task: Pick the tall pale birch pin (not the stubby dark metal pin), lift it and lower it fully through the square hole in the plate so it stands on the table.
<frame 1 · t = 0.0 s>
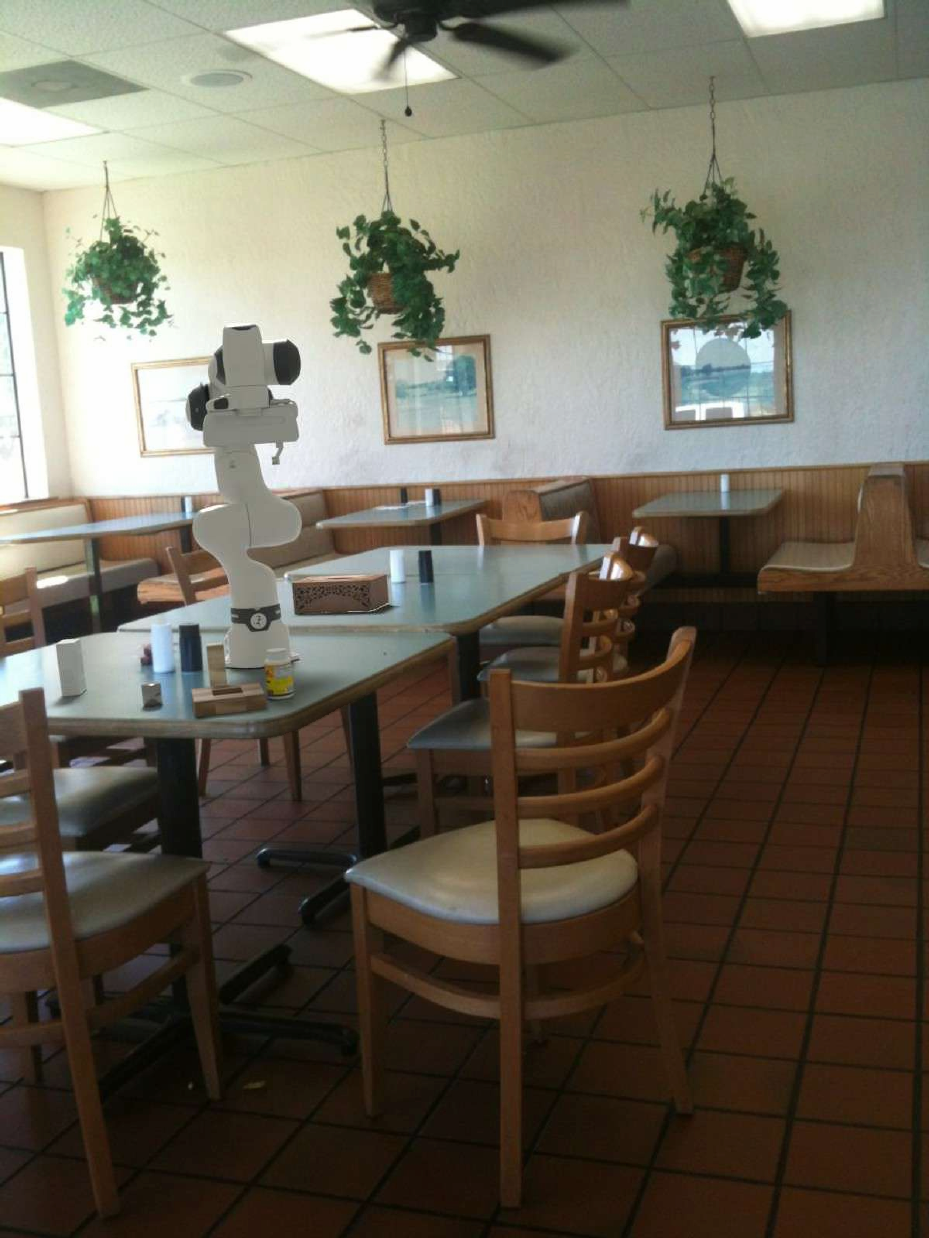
hand: (253, 466, 268), 48 cm above the table, fingers open, 8 cm apart
hole plate: (228, 705, 258), on the table
short pin: (153, 705, 264), on the table
supplement bottle: (281, 698, 263), on the table
long pin: (219, 694, 271), on the table
skincare box: (74, 694, 283), on the table
tissue box cover: (342, 610, 390), on the table
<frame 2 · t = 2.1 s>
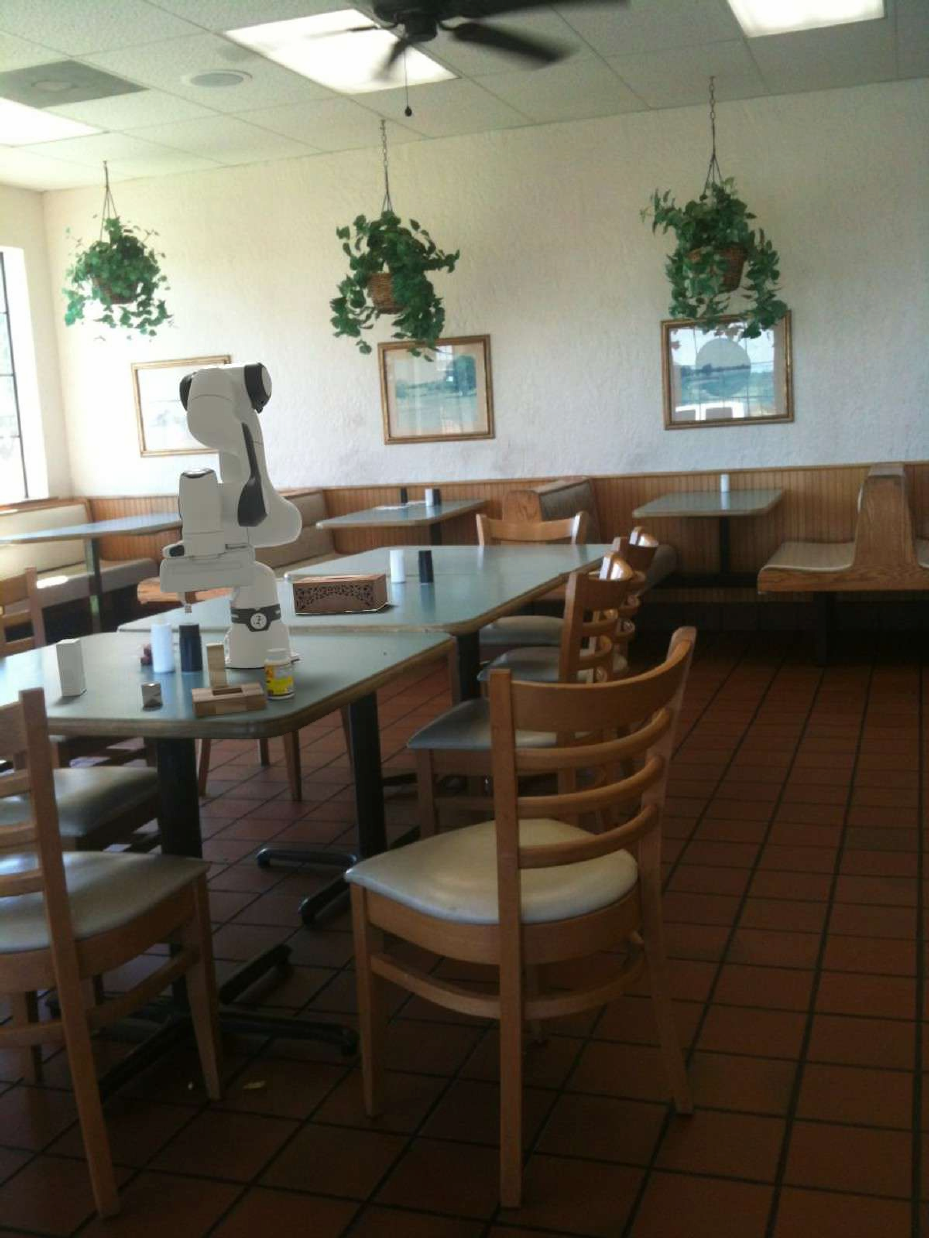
hand: (210, 610, 267), 18 cm above the table, fingers open, 8 cm apart
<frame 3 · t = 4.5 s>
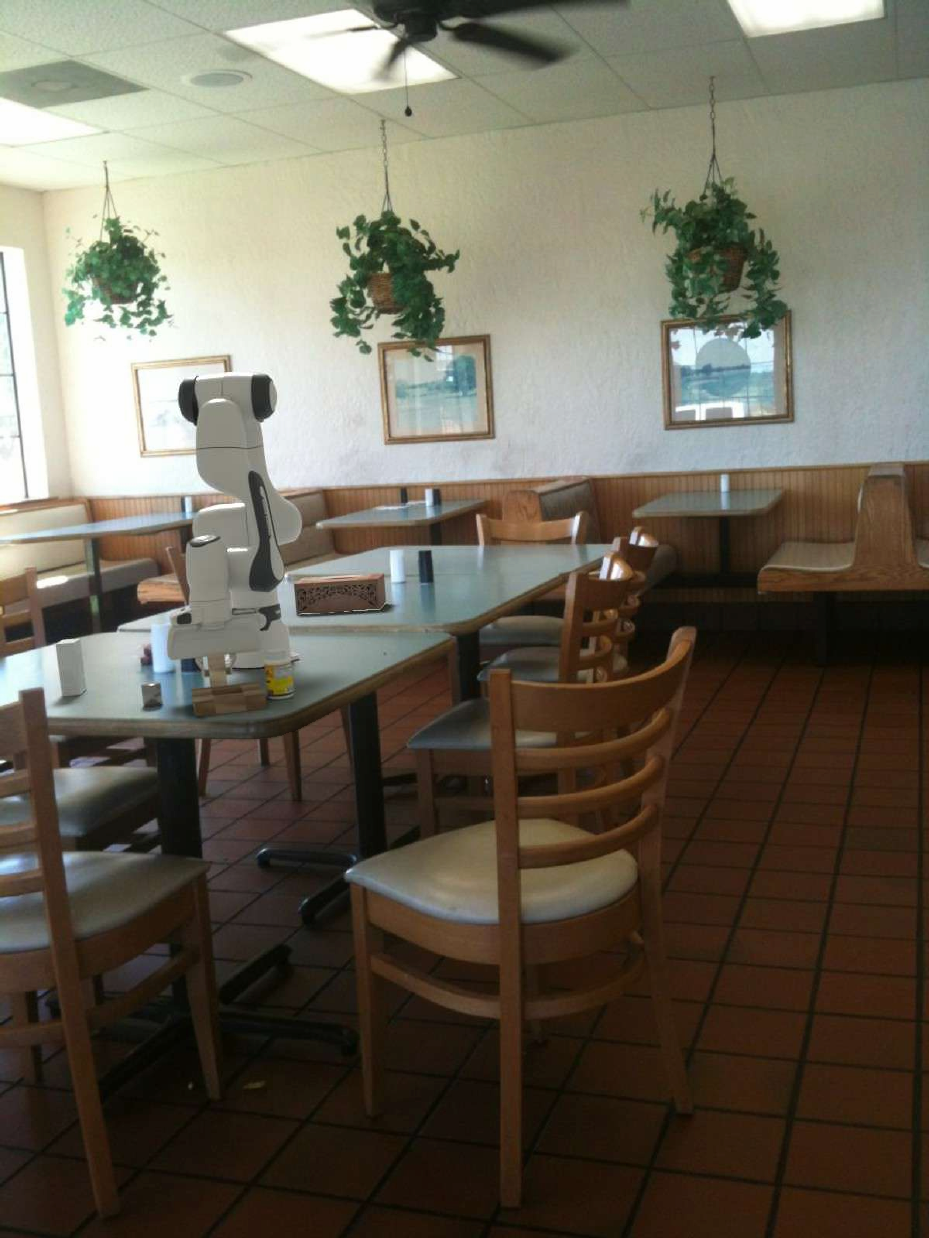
hand: (217, 675, 270), 4 cm above the table, fingers closed on long pin, 3 cm apart
long pin: (219, 694, 271), on the table, touching gripper
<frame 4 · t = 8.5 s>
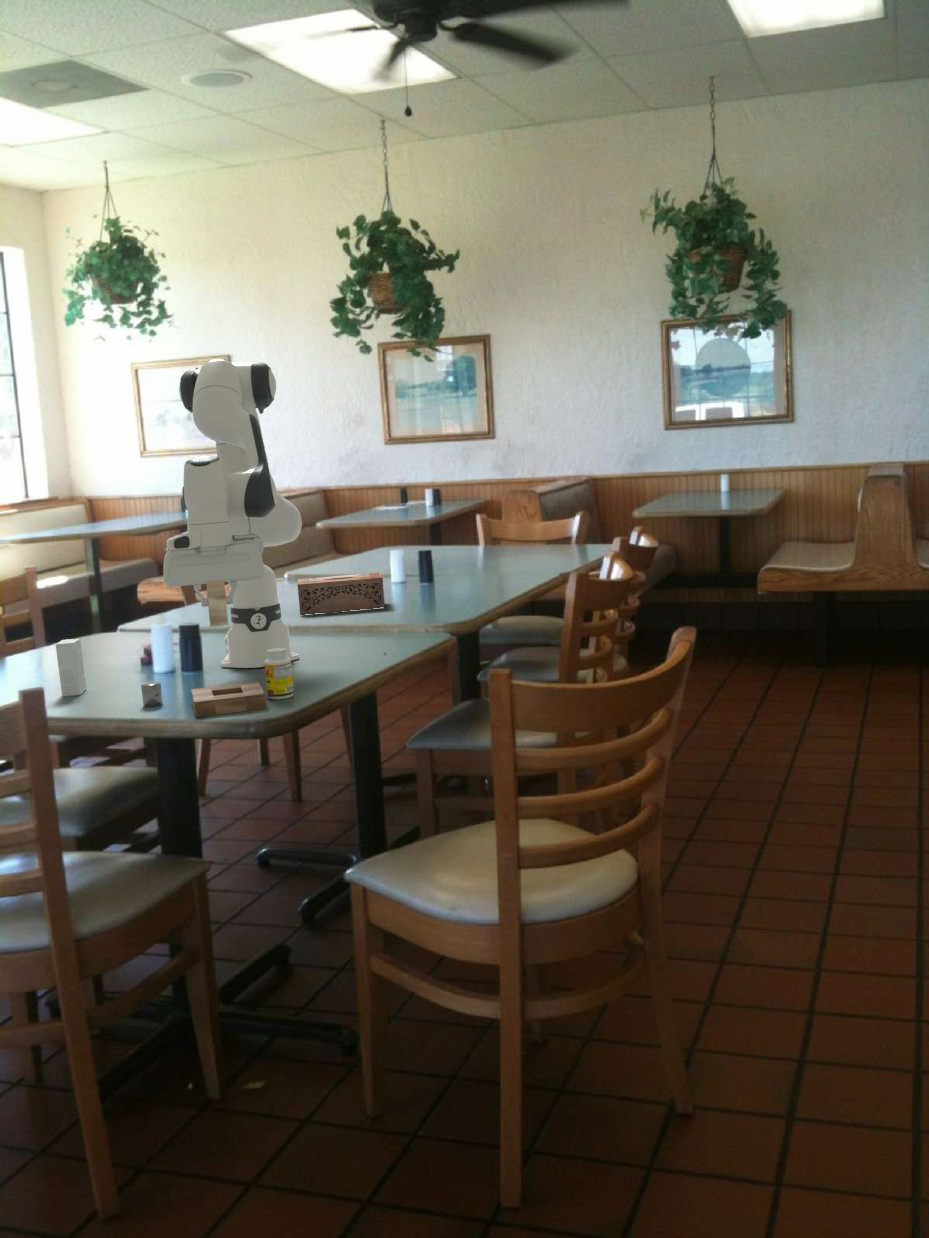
hand: (217, 605, 256), 21 cm above the table, fingers closed on long pin, 3 cm apart
long pin: (219, 624, 256), point 17 cm above the table, touching gripper
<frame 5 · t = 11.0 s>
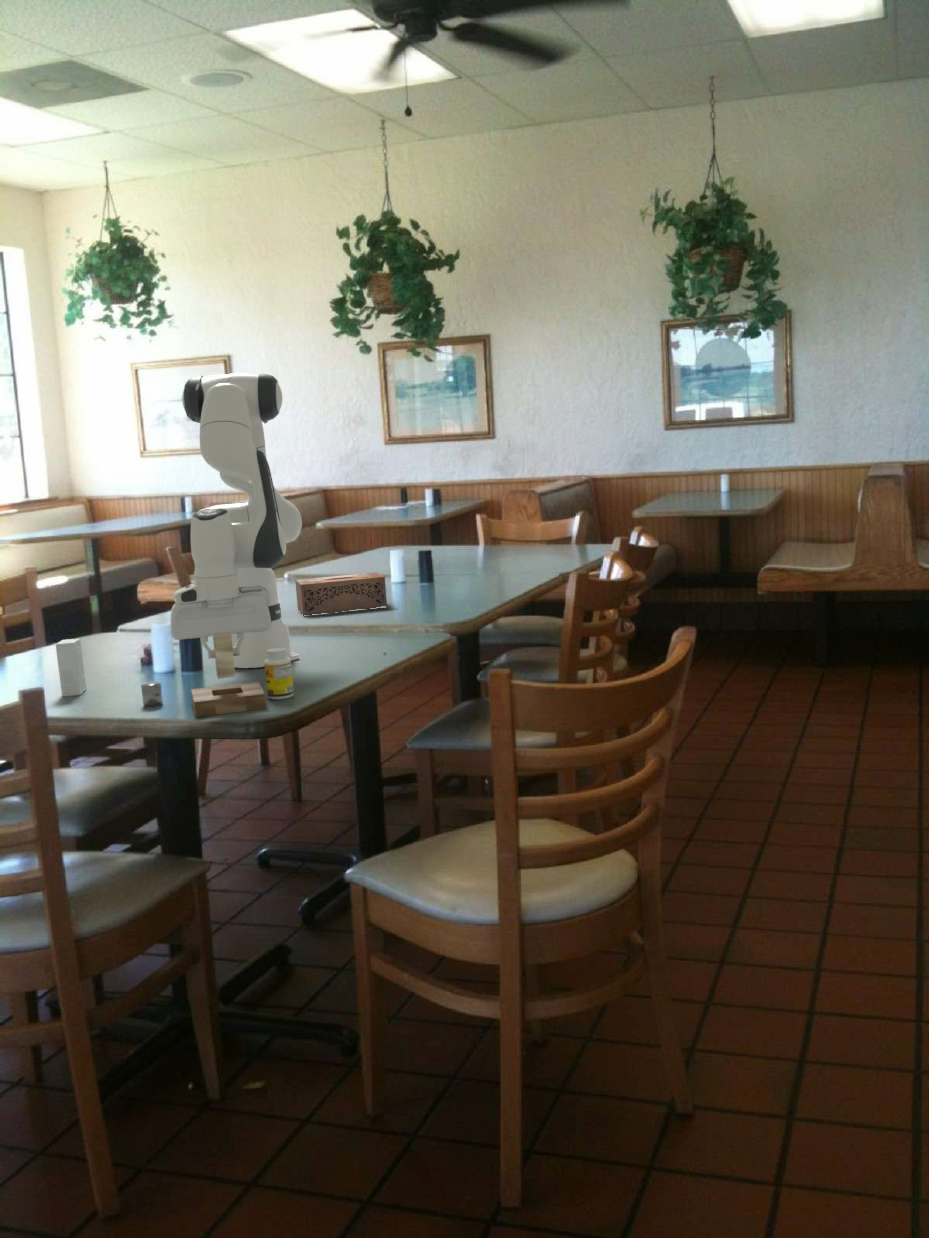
hand: (224, 656, 257), 10 cm above the table, fingers closed on long pin, 3 cm apart
long pin: (226, 676, 257), point 6 cm above the table, touching gripper
when the fingers open (5 cm above the table, at t = 13.0 s): long pin stays where it is, resting in hole plate.
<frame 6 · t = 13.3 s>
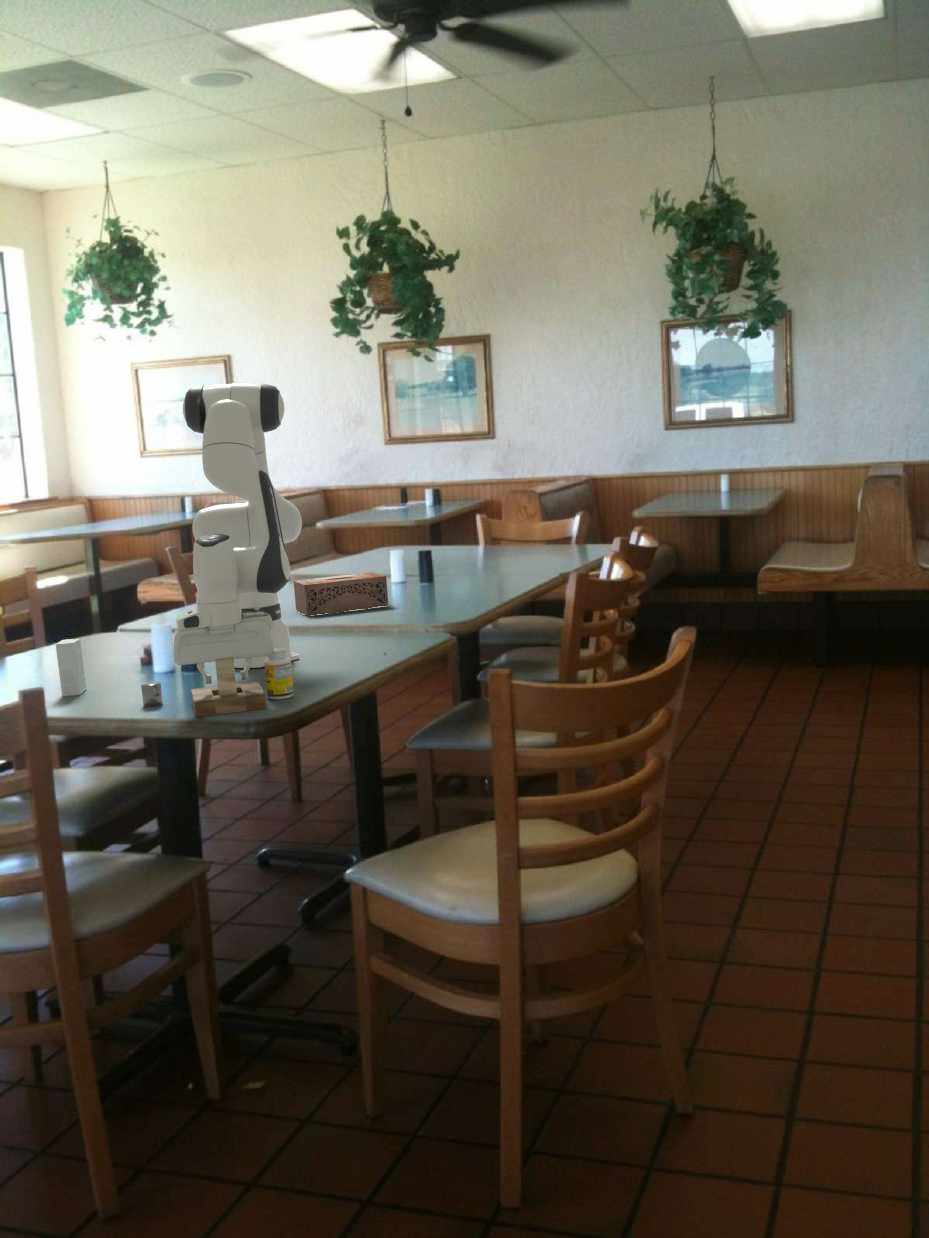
hand: (226, 681, 258), 5 cm above the table, fingers open, 6 cm apart
long pin: (228, 705, 258), resting in hole plate
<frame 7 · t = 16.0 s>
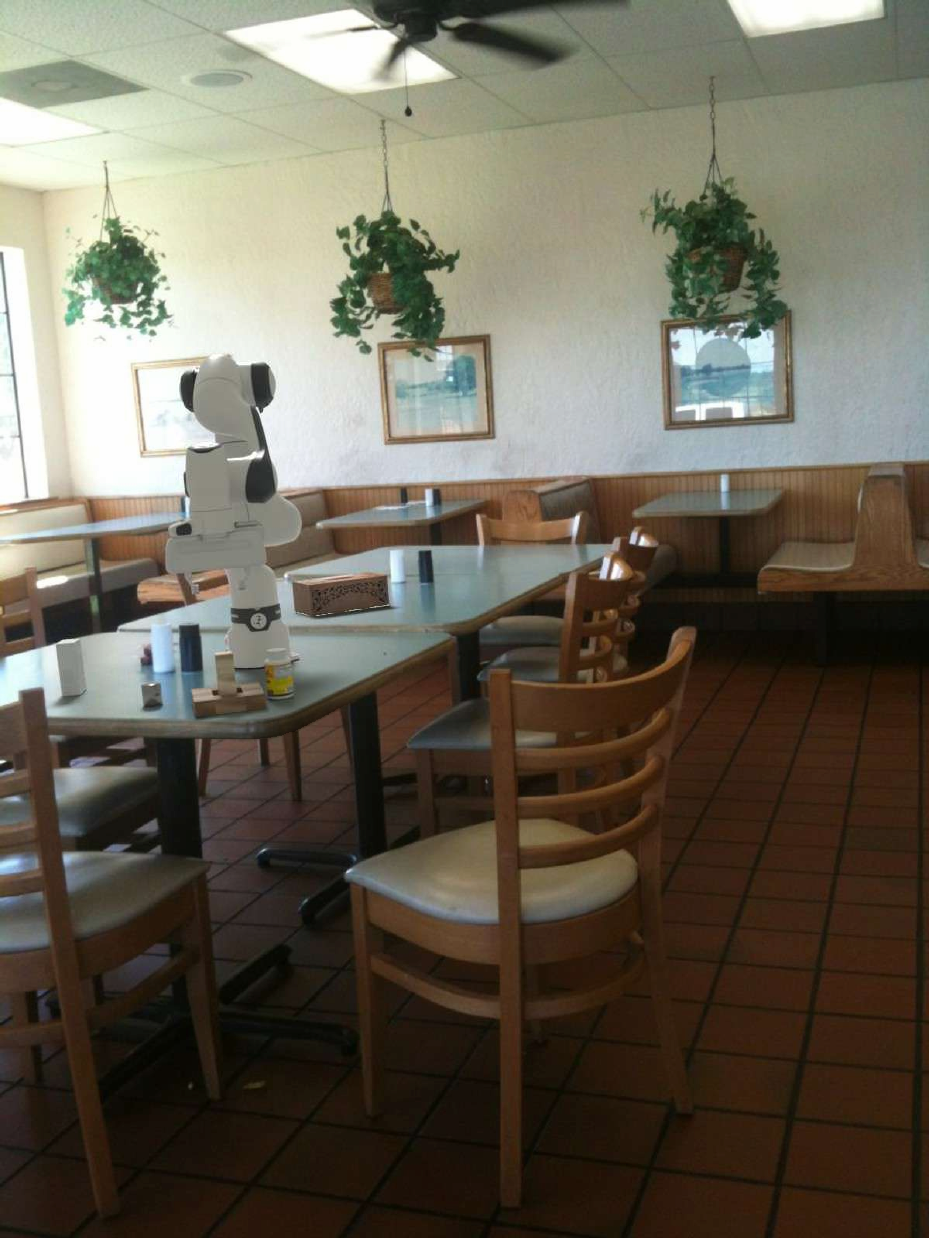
hand: (219, 591, 256), 24 cm above the table, fingers open, 8 cm apart
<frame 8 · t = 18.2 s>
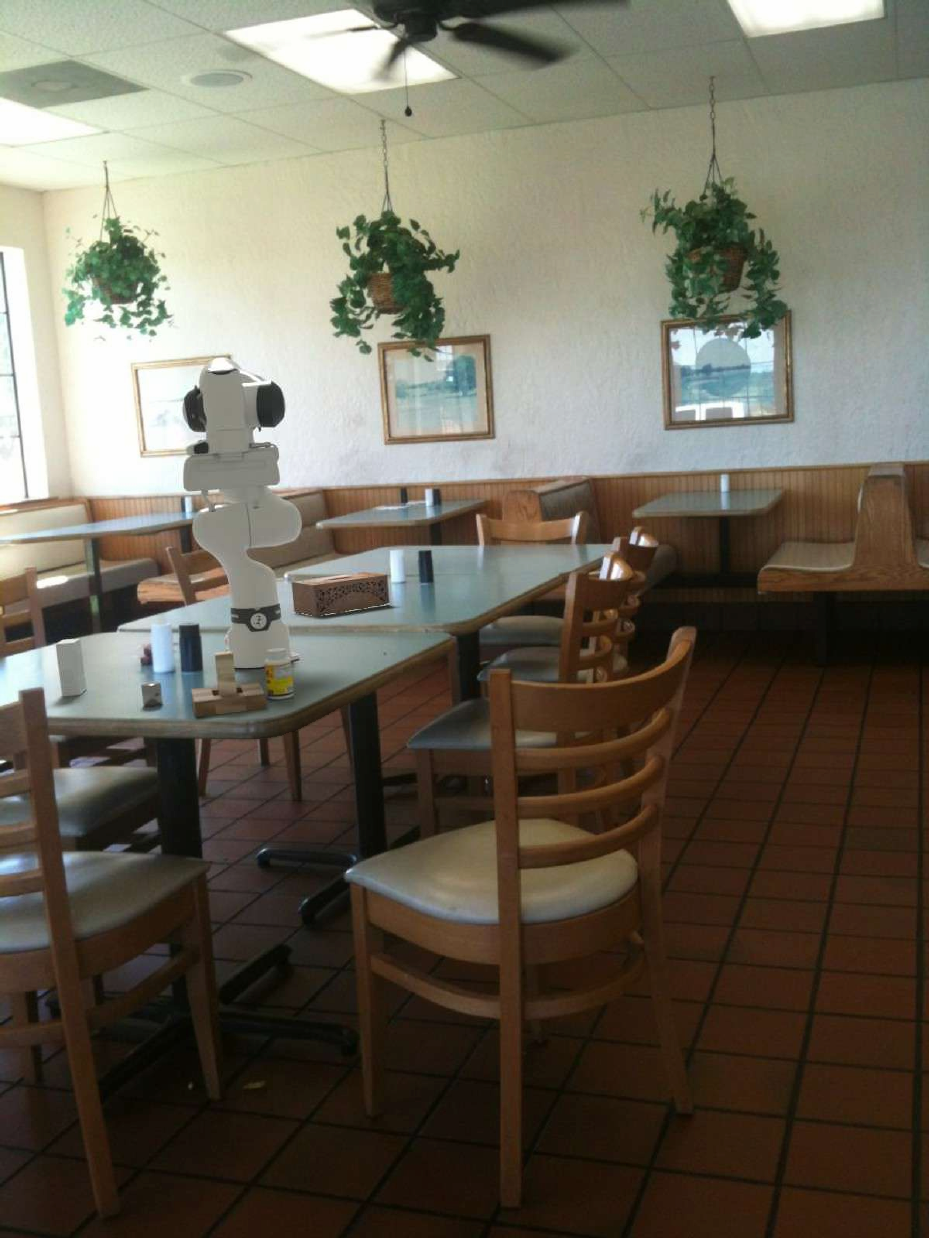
hand: (234, 510, 267), 39 cm above the table, fingers open, 8 cm apart
at the end: long pin 0.0 cm off-centre on the hole plate, point 0.0 cm above the hole plate's base; long pin tilted 0°; short pin moved 0.1 cm from its start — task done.
